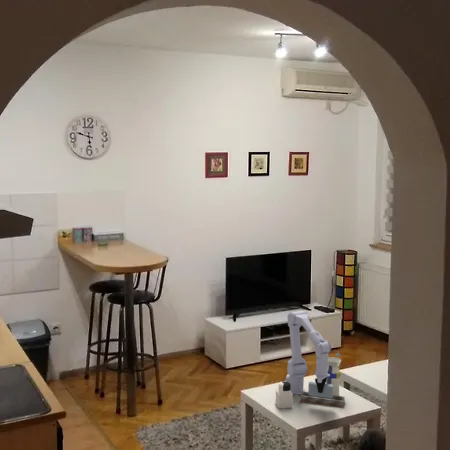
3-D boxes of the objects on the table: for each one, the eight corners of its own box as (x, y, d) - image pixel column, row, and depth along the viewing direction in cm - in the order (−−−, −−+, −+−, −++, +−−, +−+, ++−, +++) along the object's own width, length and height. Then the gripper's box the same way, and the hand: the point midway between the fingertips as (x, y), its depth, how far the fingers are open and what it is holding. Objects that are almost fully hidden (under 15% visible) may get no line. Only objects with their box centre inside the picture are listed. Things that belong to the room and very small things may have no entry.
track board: (299, 401, 314) (300, 396, 314) (302, 396, 322) (302, 390, 322) (343, 407, 308) (343, 402, 308) (344, 401, 316) (344, 396, 315)
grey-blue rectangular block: (308, 395, 307) (308, 383, 307) (309, 392, 310) (309, 381, 310) (332, 398, 304) (332, 386, 303) (332, 396, 307) (333, 384, 306)
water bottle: (343, 394, 325) (345, 349, 322) (334, 399, 319) (336, 352, 316) (330, 390, 331) (332, 345, 328) (321, 394, 325) (323, 349, 322)
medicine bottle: (288, 402, 314) (289, 379, 312) (292, 408, 307) (293, 385, 305) (275, 402, 312) (276, 380, 311) (278, 408, 305) (279, 385, 304)
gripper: (328, 371, 297) (326, 397, 299) (331, 361, 311) (330, 387, 313) (313, 369, 299) (312, 395, 301) (317, 360, 313) (316, 385, 315)
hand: (320, 391), depth 307 cm, fingers closed on grey-blue rectangular block, 3 cm apart
